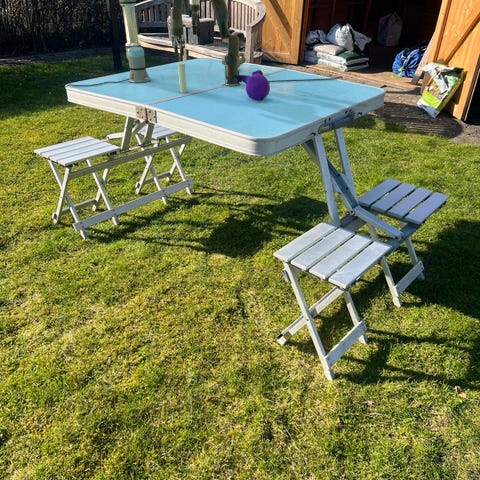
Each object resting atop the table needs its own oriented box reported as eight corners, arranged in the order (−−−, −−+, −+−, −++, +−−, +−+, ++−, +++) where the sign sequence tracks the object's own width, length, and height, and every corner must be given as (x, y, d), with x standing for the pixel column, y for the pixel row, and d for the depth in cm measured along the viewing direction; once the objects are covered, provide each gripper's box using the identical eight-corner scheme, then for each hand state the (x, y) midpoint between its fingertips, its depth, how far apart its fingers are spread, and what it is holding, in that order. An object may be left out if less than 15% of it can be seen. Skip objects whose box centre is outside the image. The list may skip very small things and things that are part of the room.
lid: (186, 66, 297) (185, 62, 296) (183, 67, 293) (183, 64, 292) (179, 66, 298) (178, 62, 297) (176, 67, 294) (176, 64, 293)
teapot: (225, 72, 363) (224, 52, 355) (218, 70, 371) (218, 50, 364) (248, 69, 372) (247, 50, 364) (241, 67, 381) (240, 48, 373)
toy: (254, 92, 298) (269, 106, 277) (229, 87, 290) (243, 101, 270) (261, 68, 290) (277, 80, 269) (236, 62, 282) (250, 75, 262)
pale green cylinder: (187, 91, 305) (185, 63, 296) (185, 92, 302) (183, 64, 293) (181, 91, 306) (179, 63, 297) (179, 92, 303) (177, 64, 293)
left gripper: (203, 5, 329) (204, 36, 339) (195, 3, 349) (197, 33, 360) (193, 5, 327) (195, 37, 338) (186, 4, 347) (188, 34, 358)
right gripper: (187, 27, 272) (189, 55, 281) (177, 25, 283) (179, 52, 291) (176, 27, 269) (178, 56, 277) (166, 26, 280) (169, 54, 288)
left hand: (196, 35), depth 349 cm, fingers open, 13 cm apart
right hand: (179, 54), depth 284 cm, fingers open, 8 cm apart
